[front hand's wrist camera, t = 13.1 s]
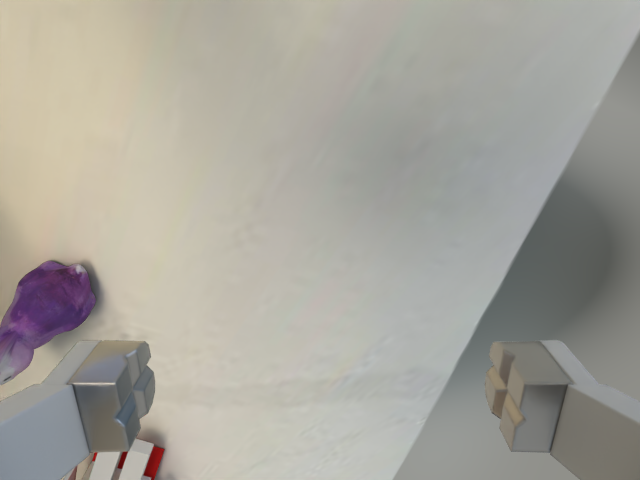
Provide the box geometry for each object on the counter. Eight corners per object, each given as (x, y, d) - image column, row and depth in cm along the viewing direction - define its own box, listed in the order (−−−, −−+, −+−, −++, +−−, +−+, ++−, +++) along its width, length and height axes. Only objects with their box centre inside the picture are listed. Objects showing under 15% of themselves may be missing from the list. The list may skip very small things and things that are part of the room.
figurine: (39, 333, 58) (-49, 419, 44) (13, 261, 54) (-93, 331, 40) (111, 328, 58) (45, 414, 44) (90, 256, 54) (10, 324, 40)
